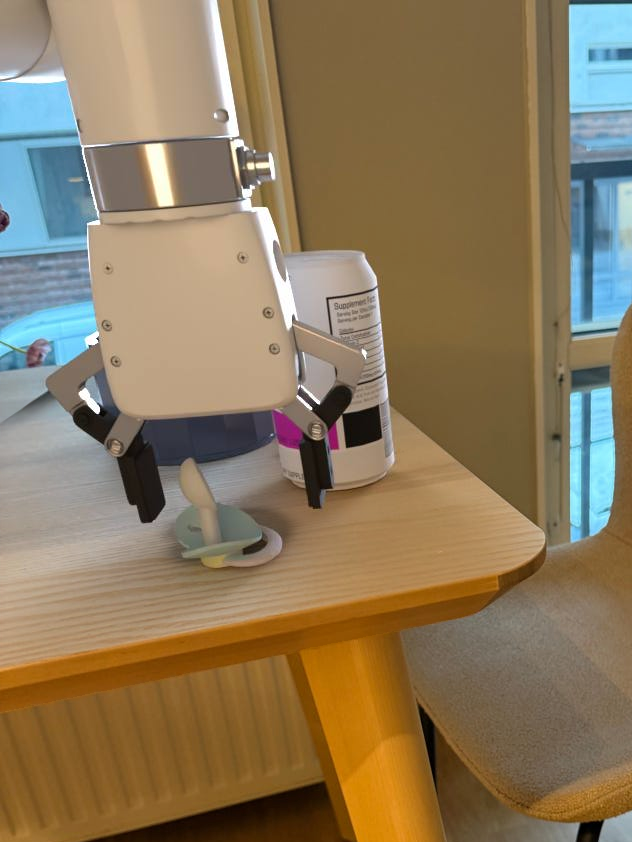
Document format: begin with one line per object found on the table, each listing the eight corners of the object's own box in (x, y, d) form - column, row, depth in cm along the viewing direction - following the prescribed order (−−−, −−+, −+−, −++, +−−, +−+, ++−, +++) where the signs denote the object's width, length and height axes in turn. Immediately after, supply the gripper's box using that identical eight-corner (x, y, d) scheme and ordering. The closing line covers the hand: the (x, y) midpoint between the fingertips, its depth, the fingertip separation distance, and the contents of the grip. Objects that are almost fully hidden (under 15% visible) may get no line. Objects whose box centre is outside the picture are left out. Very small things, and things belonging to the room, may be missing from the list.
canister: (91, 470, 72) (60, 352, 68) (138, 423, 84) (114, 320, 80) (265, 459, 73) (246, 341, 68) (287, 413, 85) (272, 310, 80)
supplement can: (289, 500, 64) (252, 269, 57) (279, 465, 71) (245, 255, 64) (404, 484, 66) (383, 257, 58) (383, 452, 73) (362, 246, 66)
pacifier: (271, 528, 60) (175, 543, 58) (258, 433, 57) (156, 445, 55) (295, 570, 54) (189, 588, 52) (282, 465, 51) (169, 480, 49)
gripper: (348, 169, 50) (385, 476, 58) (25, 194, 49) (108, 498, 58) (337, 174, 43) (380, 519, 51) (-36, 202, 43) (67, 545, 51)
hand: (236, 508), depth 54 cm, fingers open, 9 cm apart
